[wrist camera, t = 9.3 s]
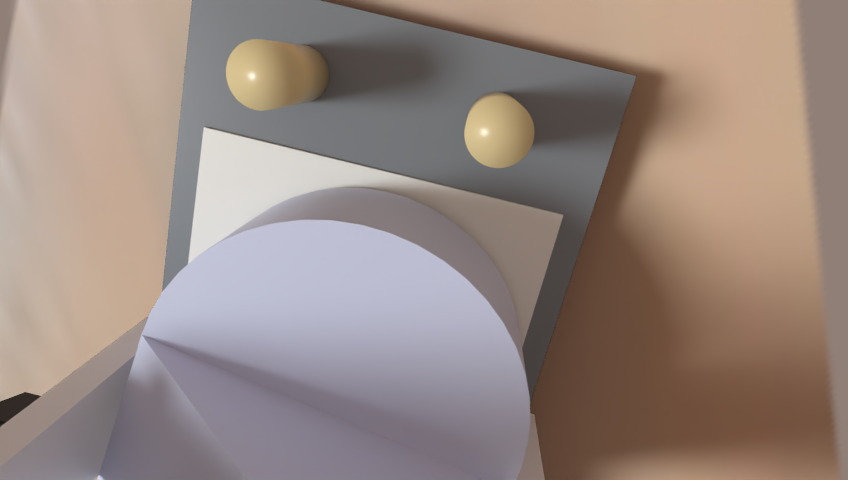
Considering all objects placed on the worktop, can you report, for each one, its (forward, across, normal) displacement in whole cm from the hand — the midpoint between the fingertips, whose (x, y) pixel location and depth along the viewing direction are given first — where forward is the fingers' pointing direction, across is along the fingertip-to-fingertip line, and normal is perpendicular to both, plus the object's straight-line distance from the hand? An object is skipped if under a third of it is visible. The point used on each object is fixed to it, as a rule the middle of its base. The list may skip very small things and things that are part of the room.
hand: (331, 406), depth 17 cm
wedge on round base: (0, 0, 0) cm, 0 cm away
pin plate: (+2, 0, 0) cm, 2 cm away
